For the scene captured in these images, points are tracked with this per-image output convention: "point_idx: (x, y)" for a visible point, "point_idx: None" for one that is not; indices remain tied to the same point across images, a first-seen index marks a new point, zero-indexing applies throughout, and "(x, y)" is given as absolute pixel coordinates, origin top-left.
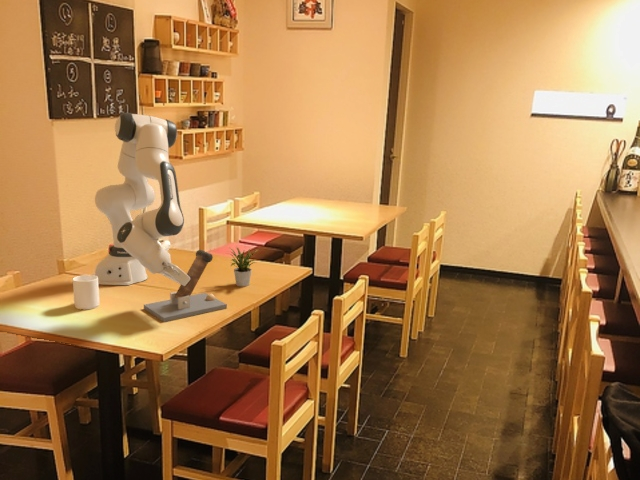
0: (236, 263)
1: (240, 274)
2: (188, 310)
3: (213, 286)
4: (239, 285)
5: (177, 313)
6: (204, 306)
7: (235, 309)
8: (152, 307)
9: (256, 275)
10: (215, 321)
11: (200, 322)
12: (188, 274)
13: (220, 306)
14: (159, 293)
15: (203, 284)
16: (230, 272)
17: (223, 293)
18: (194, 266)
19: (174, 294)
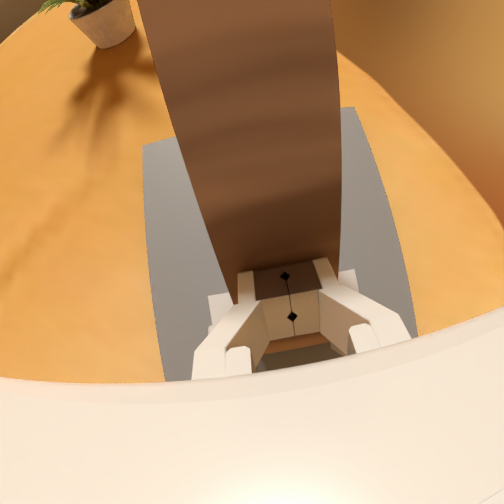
0: None
1: (114, 8)
2: (386, 302)
3: (69, 109)
4: (121, 39)
5: None
6: (355, 203)
7: (373, 98)
8: None
9: None
10: (482, 218)
11: (479, 278)
12: (238, 195)
13: (363, 136)
14: (31, 327)
15: (34, 139)
16: (19, 67)
17: (156, 85)
18: (254, 64)
19: None
